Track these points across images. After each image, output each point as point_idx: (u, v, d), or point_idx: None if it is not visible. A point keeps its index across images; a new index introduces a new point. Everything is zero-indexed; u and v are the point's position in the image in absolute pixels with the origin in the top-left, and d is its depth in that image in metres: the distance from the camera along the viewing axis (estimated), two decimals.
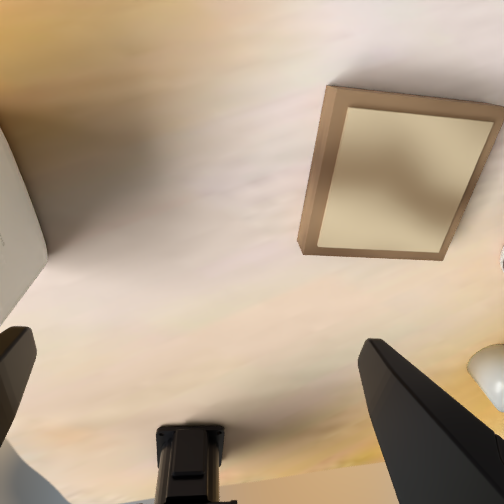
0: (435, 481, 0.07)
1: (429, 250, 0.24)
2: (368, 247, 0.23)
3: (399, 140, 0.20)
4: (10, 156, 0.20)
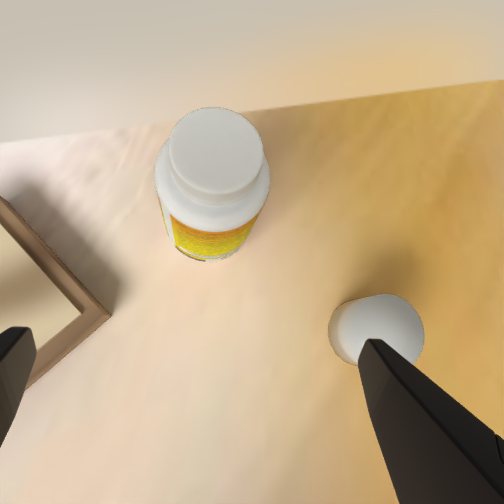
0: (435, 481, 0.07)
1: (68, 321, 0.19)
2: None
3: None
4: None
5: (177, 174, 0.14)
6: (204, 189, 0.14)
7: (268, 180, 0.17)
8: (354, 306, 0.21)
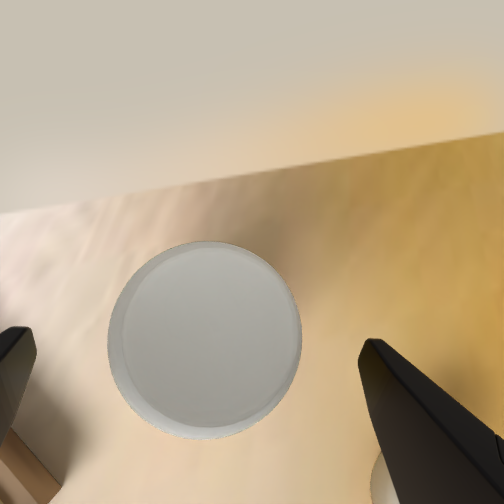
0: (435, 481, 0.07)
1: None
2: None
3: None
4: None
5: (137, 390, 0.07)
6: (189, 423, 0.07)
7: (300, 343, 0.10)
8: None
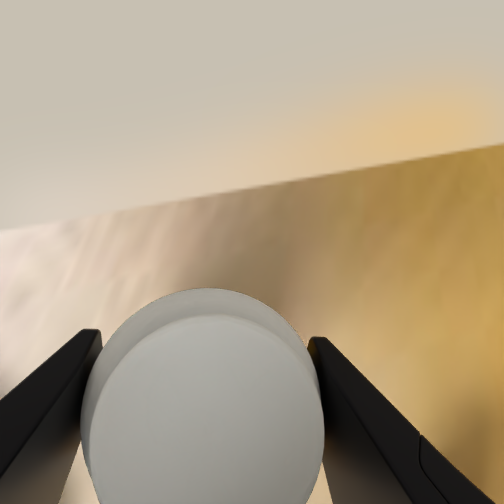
0: (360, 483, 0.07)
1: None
2: None
3: None
4: None
5: None
6: None
7: None
8: None
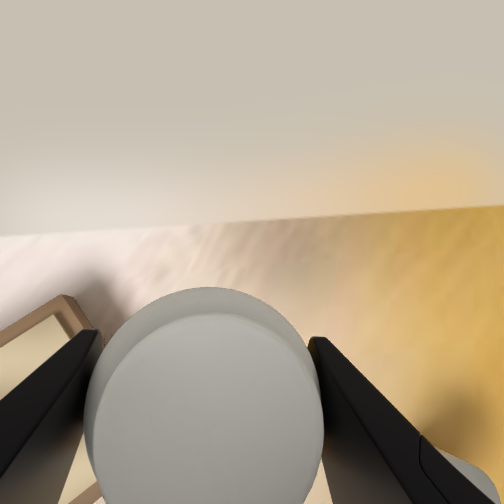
0: (360, 483, 0.07)
1: None
2: None
3: None
4: None
5: None
6: None
7: None
8: None
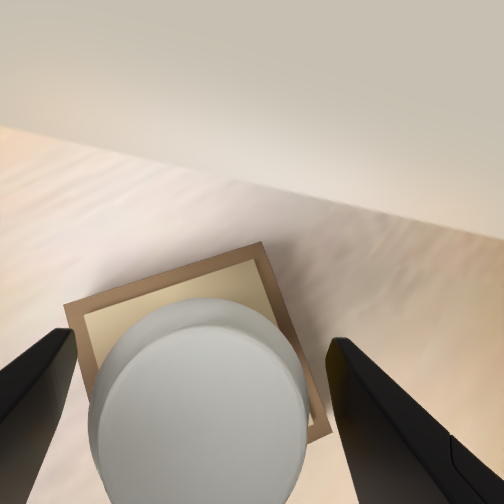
0: (390, 482, 0.07)
1: None
2: None
3: None
4: None
5: None
6: None
7: (307, 417, 0.09)
8: None
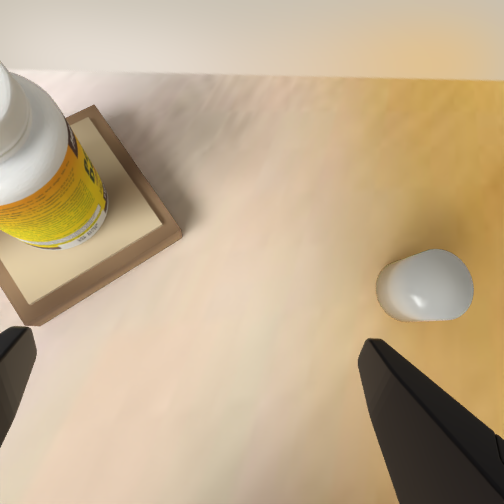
0: (435, 481, 0.07)
1: (150, 228, 0.21)
2: (84, 268, 0.20)
3: None
4: None
5: None
6: None
7: (57, 125, 0.13)
8: (409, 258, 0.23)
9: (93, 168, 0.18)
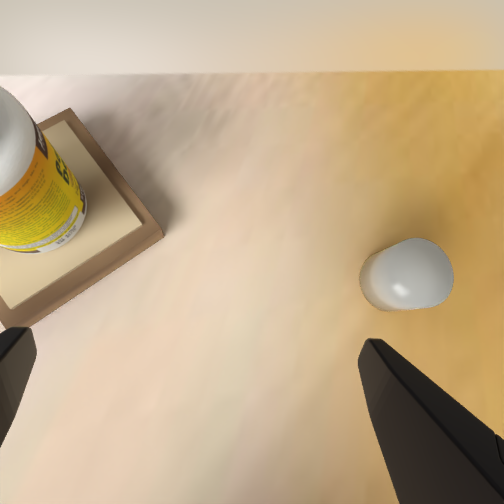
0: (435, 481, 0.07)
1: (130, 229, 0.21)
2: (64, 270, 0.20)
3: None
4: None
5: None
6: None
7: (23, 126, 0.13)
8: (389, 248, 0.23)
9: (67, 170, 0.18)
